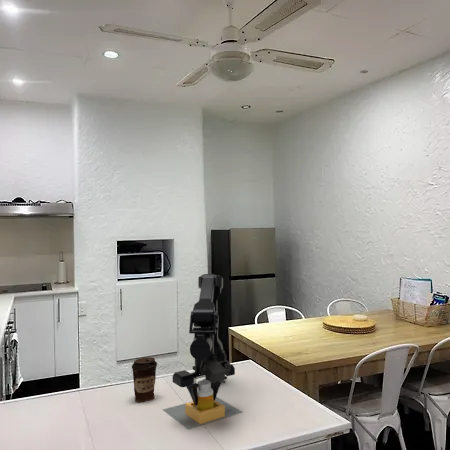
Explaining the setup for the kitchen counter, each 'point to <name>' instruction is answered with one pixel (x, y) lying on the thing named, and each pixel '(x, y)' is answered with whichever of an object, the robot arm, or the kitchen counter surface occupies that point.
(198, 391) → the supplement bottle
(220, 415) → the orange collar
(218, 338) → the robot arm
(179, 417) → the slate board
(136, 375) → the coffee cup
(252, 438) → the kitchen counter surface
